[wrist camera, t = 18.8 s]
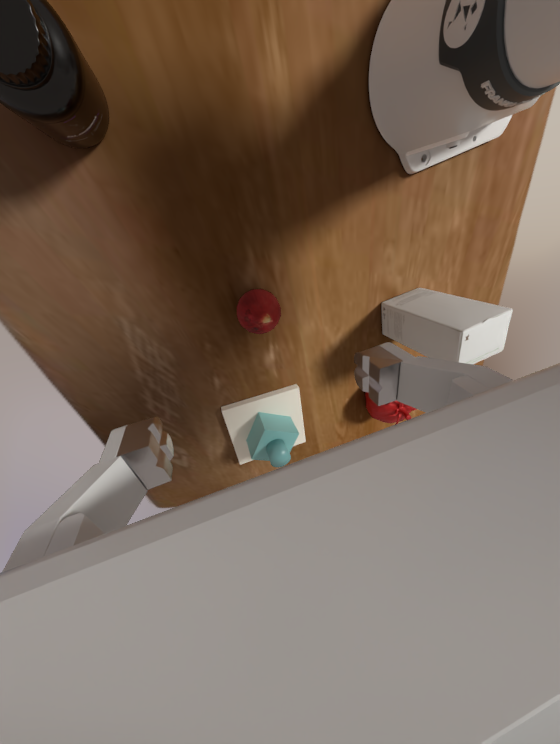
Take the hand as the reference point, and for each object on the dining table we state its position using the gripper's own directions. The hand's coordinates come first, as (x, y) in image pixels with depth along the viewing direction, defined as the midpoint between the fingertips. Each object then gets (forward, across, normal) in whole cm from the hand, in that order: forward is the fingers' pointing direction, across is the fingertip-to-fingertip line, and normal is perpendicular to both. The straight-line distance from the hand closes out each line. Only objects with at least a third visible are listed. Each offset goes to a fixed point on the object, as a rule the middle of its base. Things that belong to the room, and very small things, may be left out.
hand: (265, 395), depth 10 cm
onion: (+29, -4, +5) cm, 30 cm away
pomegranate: (+29, -26, +30) cm, 49 cm away
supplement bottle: (+29, +8, -17) cm, 34 cm away
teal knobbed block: (+27, -2, +28) cm, 39 cm away
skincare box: (+29, -30, +13) cm, 44 cm away
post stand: (+28, -1, +28) cm, 40 cm away
